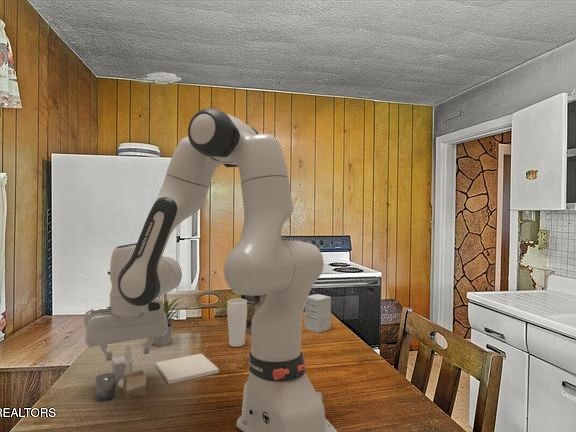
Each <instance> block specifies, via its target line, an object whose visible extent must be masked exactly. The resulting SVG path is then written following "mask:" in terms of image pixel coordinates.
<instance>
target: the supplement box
mask: <svg viewBox="0 0 576 432" xmlns="http://www.w3.org/2000/svg"><path fill="white" fill-rule="evenodd" d="M331 328H332V297H331V296H328V295H324V294H320V293H316V294H315V293H314V294H311V295H310V294H309V295H308V298H307V301H306V304H305V307H304V329H305V330H308V331H311V332H314V333H317V334H319V333H323V332H325V331H328V330H331Z"/></svg>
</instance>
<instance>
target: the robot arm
mask: <svg viewBox="0 0 576 432" xmlns="http://www.w3.org/2000/svg"><path fill="white" fill-rule="evenodd" d="M286 162H287V161H286V158H285V155H284V152H283V149H282V146H281V144H280V142H279V140H278V139H277V138H276V137H275V136H273V135H270V134H267V133H259V131H257V130H256V129H255V128H254V127H252V126H250V125H248V124H246V123H245V122H244V121H242V119H239V118H238V117H235V116H233V115H231V114H228V113H225V112H224V111H222V110H220V109H215V108H203V109H201V110H199V111H197V112H196V113H195V114H194V115H193V116H192V118H190V121H189V124H188V127H187V136H186V137H183V138H182V139H181V140H180V141H179V142H178V144H177V146H176V148H175V150H174V152H173V155H172V157H171V159H170V161H169V164H168V166H167V170H166V174H165V176H164V179H163V183H162V186H161V188H160V191H159V193H158V196H157V197H156V199H155V201H154V202H153V203H154V204H152V207H151V209H150V211H149V213H148V215H147V217H146V219H145V222H144V225H143V227H142V230H141V232H140V235H139V237H138V239H137V242H134V243H130V244H128V243H127V244H124V245H118V246H117V247H115V248H114V249H113V251H112V253H111V257H110V258H111V259H110V268H109V279H110V282H111V289H110V293H109V306H104V307H100V308H95V307H94V308H91V309H90V310H88V311H87V312H86V311H85V313H84V315H83V324H84V326H85V332H84V343H85V344H86V346H88V347H89V348H91V347H97V346H99V347H100V350H101V351H102V352H103V354H104V360H105V362H108V361H112V359H113V358H112V357H113V353H112V351H108V350H107V349H108V345H111V344H117V343H123V342H131V341H136V340H142V339H147V343H146V345H142V354H143V355H148V354H150V353H151V347H152V345H154V337H157V336H163V335H165V334H166V333H167V332H168V323H169V322H168V321H167V315H166V313H165V312H164V311H163V309H164V301H162V299H161V298H160V297H162V296H164V295H166V294H168V293H170V292H171V291H173V290H174V289H176V288H178V287H179V285H180V283H181V281H182V278H183V277H182V275H183V273H182V272H183V271H182V268H181V266H180V264H179V263H178V261H177V260H175V258H172V257H169V256H168V257H167V256H165V255H164V252H165V249H166V247H167V244H168V241H169V240H170V239H169V238H170V237H171V235H172V233H173V232H174V230H175V229H176V227H178V226H179V225H180V224H181V223H182V222H183V221H185V220H187V219H188V218H189V217H191V216H193V215H194V214H196V213H197V212H199V211H200V209H201V208H202V206H203V204H204V202H205V200H206V198H207V195H208V193H209V189H210V186H211V181H212V178H213V177H214V176H213V175H214V173H215V171H216V169H217V168H218V167H220V166H222V165H223V166H224V167H226V168H238V171H239V178H240V179H239V180H240V187H241V195H242V205H243V206H242V207H243V224H242V225H243V226H242V230H241V234H240V236H239V238H238V241H237V243H236V244H235V245H234V247H233V249H232V250H231V251H230V252H229V253H227V256H226V259H225V261H224V265H223V276H224V280H225V282H226V284H227V285H228V287H229V288H230V290H231V291H232V292H233V293H235V294H237V295H240V296H241V295H256V296H259V295H264V294H267V297H266V299H265V301H264V303H263V305H262V306H261V307H260V308H259V309H258V310H257V312H256V313H255V314H254V316H253V318H252V328H251V333H250V334H251V335H250V336H251V338H250V340H251V342H250V344H251V345H250V346H251V348H250V349H251V350H250V352H249V355H248V356H249V357H248V370H249V372H250V373H249V375H248V378H247V380H246V382H245V383H244V386H243V393H242V394H243V395H242V406H241V408H242V409H241V415H240V416H239V417H238V418H237V420H236V424H235V425H236V427H237V428H238V429H239V430H241V431H242V432H338V430H337V429H336V428H335V427H334V425H332V423H330V421H329V420H328V419H327V418H326V411H325V406H324V402H323V400H324V398H323V397H324V396H323V393H322V392H321V391H316V389H315V387H314V386H313V384H312V381H311V380H310V379H309V378H308V375H307V373H306V371H307V370H308V367H307V366H308V363H305V358H304V355H303V352H302V347H301V345H302V344H301V343H302V341H301V340H302V320H303V315H304V312H305V304H306V301H307V298H308V296H310V292H311V290H312V288H313V286H314V284H315V283H316V281H317V280H319V278H320V277H321V275H322V274H323V270H324V258H323V254H322V252H321V251H320V249H319V248H318V246H317V245H315V244H313V243H311V242H307V241H302V240H286V241H283V240H282V231H283V227H284V224H285V223H286V222H287V221H288V220H289V219H290V218H291V216H292V215H293V213H294V207H293V206H294V205H293V198H292V191H291V185H290V184H291V183H290V177H289V172H288V167H287V163H286ZM158 297H159V298H160V299H161V300H160V299H159V298H158Z"/></svg>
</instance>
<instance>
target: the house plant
mask: <svg viewBox="0 0 576 432" xmlns="http://www.w3.org/2000/svg"><path fill="white" fill-rule="evenodd" d="M181 298H183V297H182V296H181V297H177V298H175V299H174V300H172V301H168V297H167V296H165V297H164V301H163V303H164V309H163V311H164V312H165V313H166V315H167V321H168V332H167V333H166V334H165V335H163V336H157V337H154V342H153V345H154V346H156V347H163V346H168V345H169V344H170V343H171V337H172V333H173V327H174V326H173V325H174V324H173V323H172V322H170V321H175V320H176V319H175V318H177V319H178V315H177V312H179V311H180V309H178V310H175V311H174V309H175V308H176V307H177V306H178V305H179V304H183V303H184V302H182V301H178V302H177V300H179V299H181ZM158 299H160V300H161V301H162V299H161V298H160V297H158ZM170 302H171V303H170ZM175 302H177V303H175ZM173 311H174V312H173ZM175 322H176V321H175Z"/></svg>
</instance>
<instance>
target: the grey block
mask: <svg viewBox="0 0 576 432" xmlns="http://www.w3.org/2000/svg"><path fill="white" fill-rule="evenodd" d="M130 360H131V361H132V363H131V364H130V369H131V372H133V360H132V358H131V359H130ZM125 361H126V359H125V356H120V357H115V358H112V360H111V373H113V374H115V375H116V381H120V380H121V379H123V378H124V373H125V371H126V364H124V362H125Z"/></svg>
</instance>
